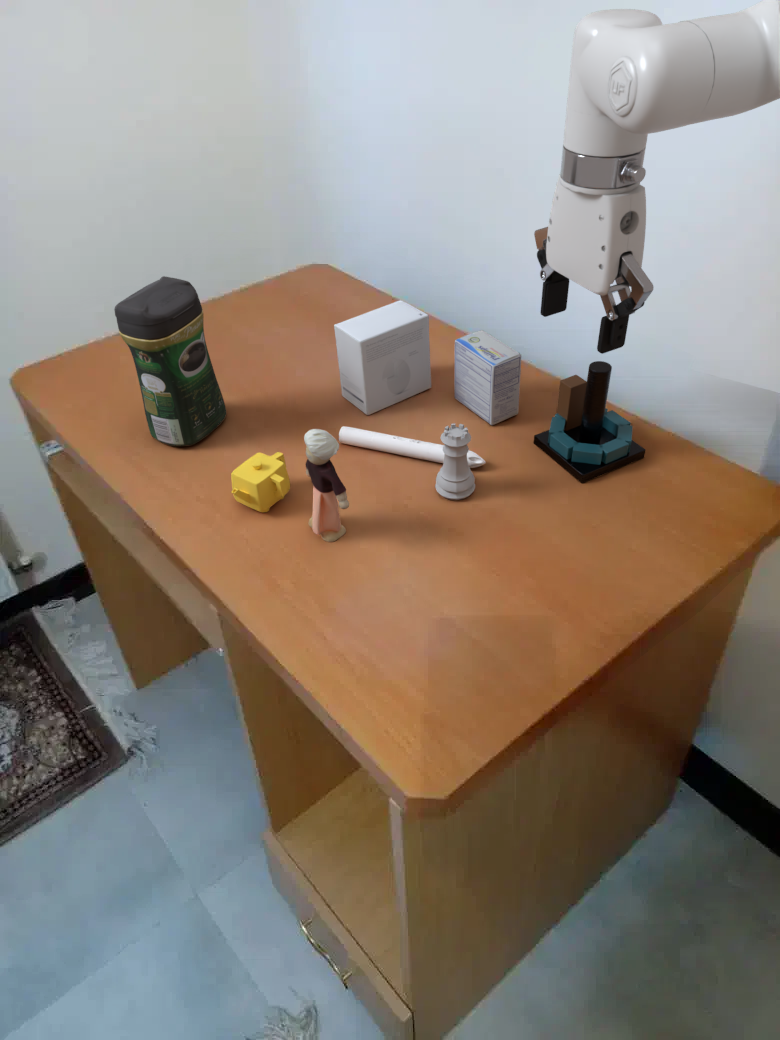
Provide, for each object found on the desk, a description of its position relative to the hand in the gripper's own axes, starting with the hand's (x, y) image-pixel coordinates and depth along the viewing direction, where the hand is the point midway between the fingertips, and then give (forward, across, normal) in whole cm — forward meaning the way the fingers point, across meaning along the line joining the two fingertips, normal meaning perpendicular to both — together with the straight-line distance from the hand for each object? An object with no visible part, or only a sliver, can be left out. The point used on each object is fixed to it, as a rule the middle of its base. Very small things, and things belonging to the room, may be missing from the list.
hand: (580, 330), depth 86 cm
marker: (+14, +6, +18) cm, 24 cm away
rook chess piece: (+14, -2, +17) cm, 22 cm away
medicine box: (+14, +10, +5) cm, 18 cm away
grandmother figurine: (+14, -1, +32) cm, 35 cm away
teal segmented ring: (+13, -4, 0) cm, 13 cm away
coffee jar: (+14, +26, +39) cm, 49 cm away
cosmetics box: (+14, +20, +14) cm, 28 cm away
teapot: (+14, +7, +36) cm, 39 cm away
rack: (+14, -4, 0) cm, 14 cm away
